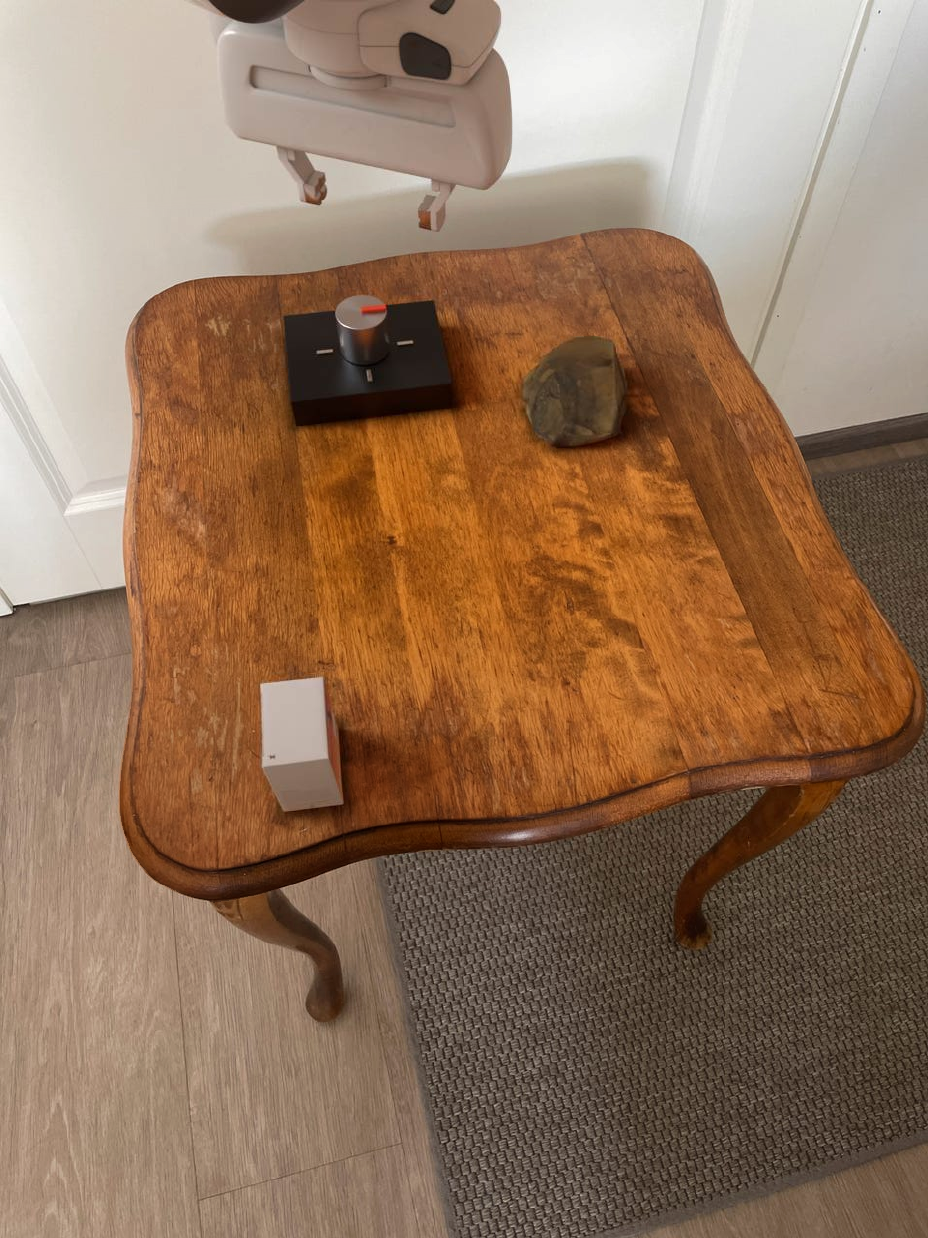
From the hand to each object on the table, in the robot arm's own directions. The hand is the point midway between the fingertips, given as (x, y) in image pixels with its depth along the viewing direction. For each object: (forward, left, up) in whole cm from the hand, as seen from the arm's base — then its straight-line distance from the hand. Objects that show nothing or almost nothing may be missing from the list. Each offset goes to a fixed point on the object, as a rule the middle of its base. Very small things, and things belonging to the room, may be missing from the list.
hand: (372, 212), depth 67 cm
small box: (-10, -35, -18) cm, 41 cm away
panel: (-2, +3, -18) cm, 18 cm away
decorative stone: (+16, -4, -18) cm, 25 cm away
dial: (-2, +3, -15) cm, 15 cm away
